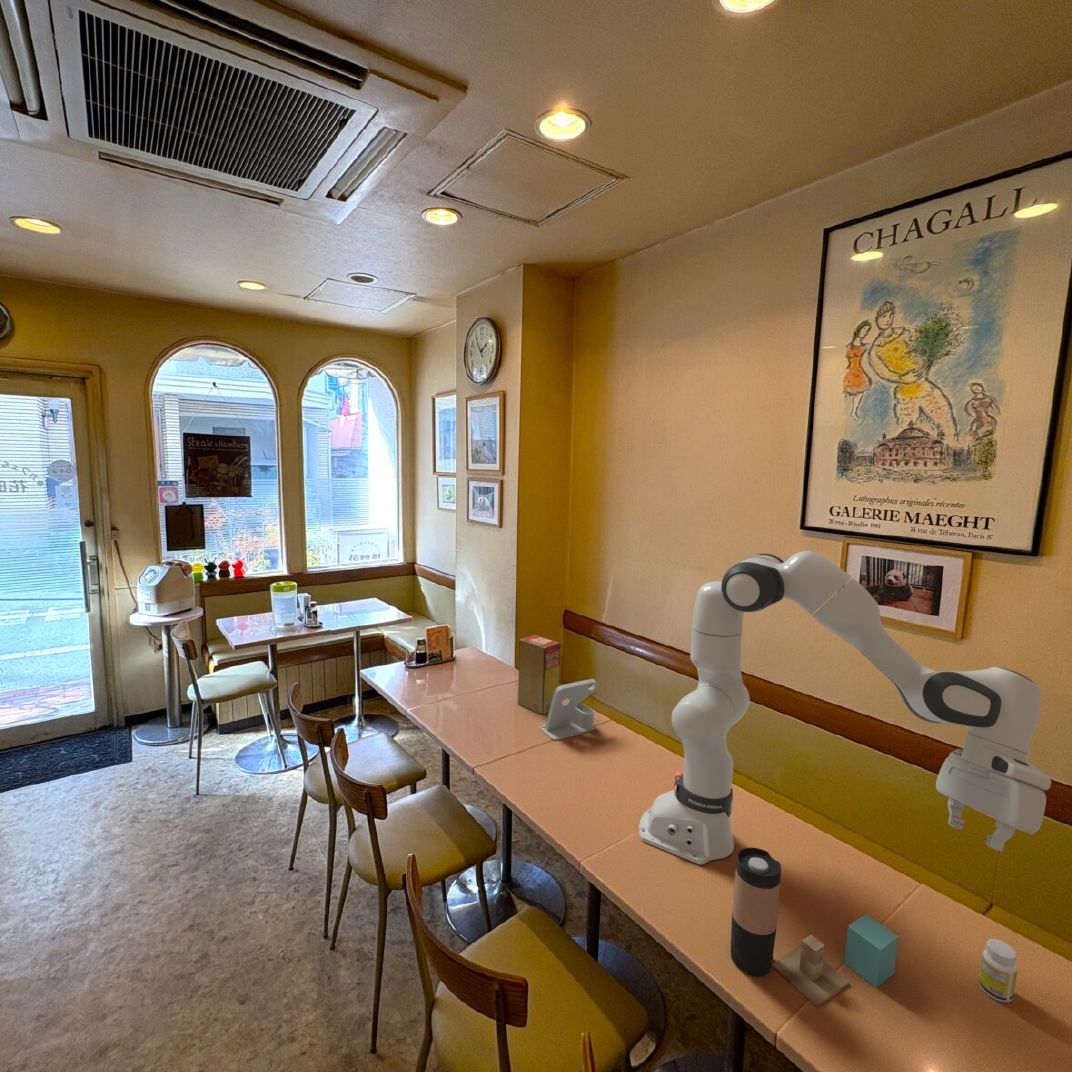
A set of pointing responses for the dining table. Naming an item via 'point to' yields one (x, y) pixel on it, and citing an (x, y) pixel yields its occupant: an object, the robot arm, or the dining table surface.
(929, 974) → the dining table surface
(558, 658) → the food packaging
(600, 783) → the dining table surface
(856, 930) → the teal rectangular block
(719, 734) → the robot arm
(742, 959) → the travel mug
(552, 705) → the phone holder
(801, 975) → the flat square base
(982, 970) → the supplement bottle
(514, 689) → the dining table surface
